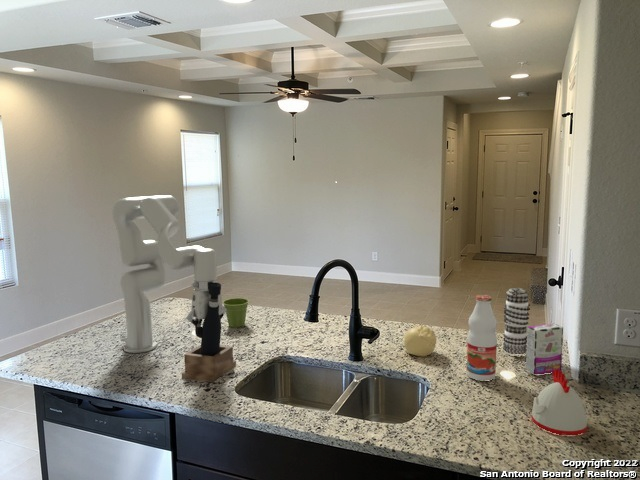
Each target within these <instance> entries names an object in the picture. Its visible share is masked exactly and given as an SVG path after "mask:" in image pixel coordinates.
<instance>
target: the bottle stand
mask: <svg viewBox="0 0 640 480" xmlns="http://www.w3.org/2000/svg"><path fill="white" fill-rule="evenodd" d="M233 348H234V347H233V346H229V345H221V344H220V349H219V353H218V354H216V355H215V356H206V355H200V352H201V344H199V345H198V346H196V347H195V348H193V349H191V350H190V351H187V352H186V353H184V355H183V357H184V371H183V372H181V378H184V379H190V380H196V381H202V382H207V383H208V382H209V383H213V382H215V381H217V379H218V378H220V377H222V376H223V375H224V374H226V373H227V372H228V371H230V370H231V369H233V368H234V367H235V366H236V365H237V361H236V360H234V352H233V350H234V349H233Z"/></svg>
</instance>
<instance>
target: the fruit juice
mask: <svg viewBox="0 0 640 480" xmlns="http://www.w3.org/2000/svg"><path fill="white" fill-rule="evenodd" d="M492 299H493V298H492V296H491V295H487V294H477V295H476V296H475V301H476V304H475V305H474V308H473V311H472V313H471V315H469V318H468V327H469V331H468V333H467V340H466V341H467V345H466V347H467V349H466V376H467V375H468V376H469V377H471V378H473V379H477V380H491V379H494V380H495V378H496V371H497V370H496V369H497V367H496V366H497V345H498V344H497V343H498V337H497V333H496V330H497V328H498V320H497V318H496V317H495V314H494V311H493V307H492V305H491V303H492V301H493V300H492ZM468 376H467V377H468ZM469 377H468V378H469Z"/></svg>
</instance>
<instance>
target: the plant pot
mask: <svg viewBox="0 0 640 480" xmlns="http://www.w3.org/2000/svg"><path fill="white" fill-rule="evenodd" d="M249 301H250V300H249V299H247V298H242V297H235V298H234V297H233V298H228V299H225V300H222V304H223V306H224V307H225V308H226V309H227V311H226V312H225V314H226V319H227V323H228V326H229V327H230V328H240V327H244V326H245V325H246V316H247V309H248V305H249Z"/></svg>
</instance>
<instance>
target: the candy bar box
mask: <svg viewBox="0 0 640 480" xmlns="http://www.w3.org/2000/svg"><path fill="white" fill-rule="evenodd" d="M526 331H527V339H526V340H527V343H526V345H527V348H526V349H527V351H526V356H525V371H526V370H528V371H530V372H531V373H533V374H544V373H551V372H552V371H555V369H559V371H562V366H563V365H562V363H563V361H562V360H563V341H564V327H563V326H561V325H559V324H556V323H547V324H546V323H545V324H539V325H532V326H531V325H530V326H529V325H528V326H527V330H526Z"/></svg>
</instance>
